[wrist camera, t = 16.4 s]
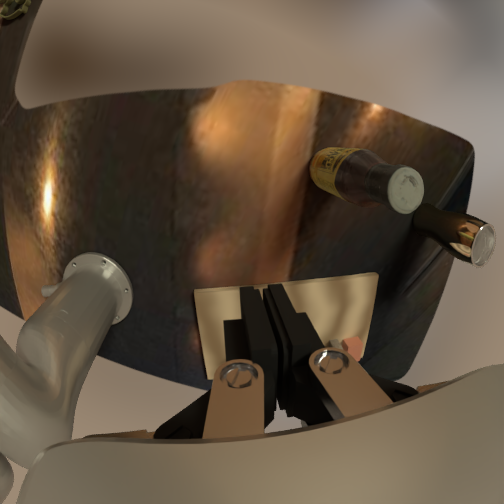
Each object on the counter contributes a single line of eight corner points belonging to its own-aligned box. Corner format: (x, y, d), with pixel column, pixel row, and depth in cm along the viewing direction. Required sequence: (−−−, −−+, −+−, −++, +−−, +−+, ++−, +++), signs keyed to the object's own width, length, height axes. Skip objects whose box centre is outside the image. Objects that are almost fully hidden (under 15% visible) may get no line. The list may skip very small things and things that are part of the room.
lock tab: (357, 336, 48) (363, 344, 46) (354, 352, 49) (359, 360, 47) (343, 339, 48) (348, 347, 45) (340, 355, 49) (345, 363, 47)
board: (208, 375, 48) (208, 379, 47) (194, 289, 42) (193, 293, 41) (360, 353, 51) (362, 357, 50) (375, 272, 45) (378, 274, 44)
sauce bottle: (336, 141, 37) (428, 140, 19) (351, 180, 40) (443, 207, 21) (297, 158, 38) (370, 165, 19) (314, 197, 40) (391, 237, 21)
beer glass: (414, 197, 42) (477, 219, 28) (440, 203, 43) (500, 225, 29) (407, 237, 44) (465, 269, 30) (433, 239, 45) (489, 269, 31)
